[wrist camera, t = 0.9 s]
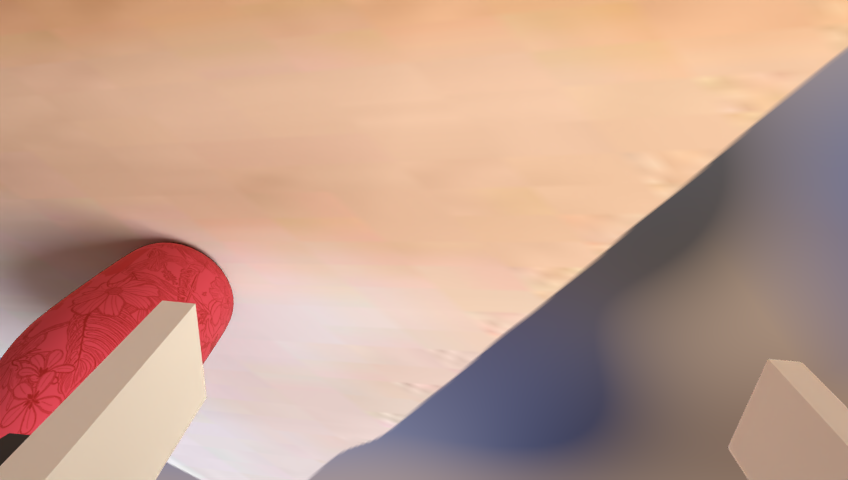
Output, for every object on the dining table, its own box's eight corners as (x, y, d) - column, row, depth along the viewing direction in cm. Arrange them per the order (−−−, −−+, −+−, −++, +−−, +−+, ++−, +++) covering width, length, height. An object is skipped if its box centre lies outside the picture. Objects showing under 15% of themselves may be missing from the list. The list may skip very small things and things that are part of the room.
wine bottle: (163, 210, 39) (-495, 659, 12) (264, 290, 42) (-86, 814, 14) (99, 288, 42) (-541, 787, 15) (197, 358, 45) (-198, 897, 17)
